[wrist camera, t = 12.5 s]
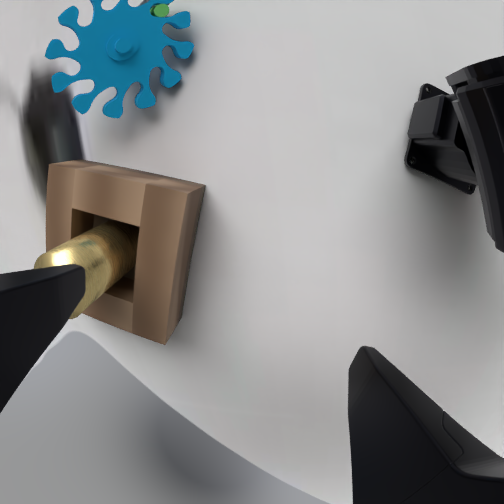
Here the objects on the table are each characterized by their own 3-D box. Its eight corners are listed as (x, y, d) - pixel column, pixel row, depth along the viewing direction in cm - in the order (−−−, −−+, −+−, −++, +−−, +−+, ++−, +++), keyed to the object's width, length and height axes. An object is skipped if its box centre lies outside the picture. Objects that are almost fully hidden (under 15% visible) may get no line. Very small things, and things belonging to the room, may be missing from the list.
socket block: (205, 185, 20) (187, 193, 17) (181, 317, 24) (165, 344, 20) (81, 159, 21) (49, 164, 17) (75, 279, 24) (49, 297, 21)
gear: (138, 144, 18) (14, 82, 11) (121, 127, 22) (25, 78, 14) (234, 21, 16) (131, -60, 8) (199, 26, 20) (113, -35, 12)
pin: (147, 224, 21) (83, 265, 13) (142, 274, 22) (85, 328, 14) (102, 212, 21) (31, 244, 13) (99, 260, 22) (37, 305, 15)
